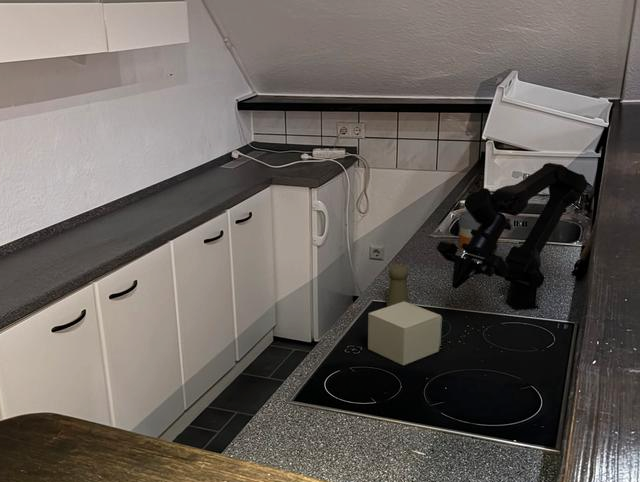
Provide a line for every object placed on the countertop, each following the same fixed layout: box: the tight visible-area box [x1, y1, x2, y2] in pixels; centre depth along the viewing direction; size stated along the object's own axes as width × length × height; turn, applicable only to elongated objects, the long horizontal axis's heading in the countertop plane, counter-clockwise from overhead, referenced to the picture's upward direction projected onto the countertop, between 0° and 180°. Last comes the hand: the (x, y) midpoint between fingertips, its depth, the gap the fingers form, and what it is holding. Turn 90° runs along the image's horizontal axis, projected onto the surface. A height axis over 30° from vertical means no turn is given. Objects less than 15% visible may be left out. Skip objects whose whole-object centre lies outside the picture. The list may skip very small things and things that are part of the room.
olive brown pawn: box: [385, 264, 410, 307], centre depth 202 cm, size 6×6×11 cm
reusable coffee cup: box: [458, 210, 499, 250], centre depth 233 cm, size 13×13×15 cm
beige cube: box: [367, 301, 442, 366], centre depth 176 cm, size 12×12×9 cm
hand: (453, 287), depth 183 cm, fingers closed
